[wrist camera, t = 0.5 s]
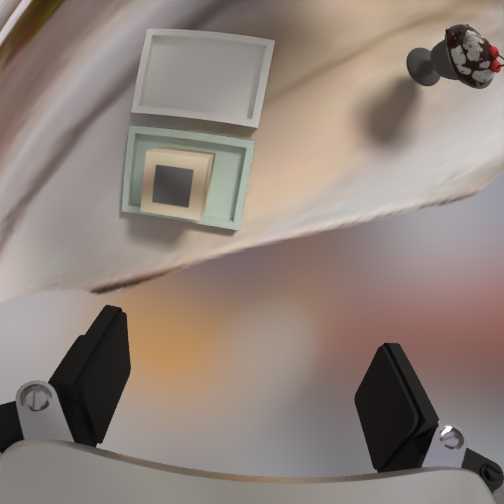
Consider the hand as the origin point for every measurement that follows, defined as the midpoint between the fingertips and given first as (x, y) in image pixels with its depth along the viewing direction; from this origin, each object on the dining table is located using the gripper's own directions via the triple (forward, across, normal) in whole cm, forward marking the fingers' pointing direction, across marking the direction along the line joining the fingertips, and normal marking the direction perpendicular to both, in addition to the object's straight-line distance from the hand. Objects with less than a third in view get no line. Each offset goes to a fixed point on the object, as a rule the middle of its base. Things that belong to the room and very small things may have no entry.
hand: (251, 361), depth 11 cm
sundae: (+27, -18, -20) cm, 38 cm away
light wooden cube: (+27, +8, -1) cm, 28 cm away
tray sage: (+27, +8, -1) cm, 28 cm away
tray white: (+27, +8, -13) cm, 31 cm away
